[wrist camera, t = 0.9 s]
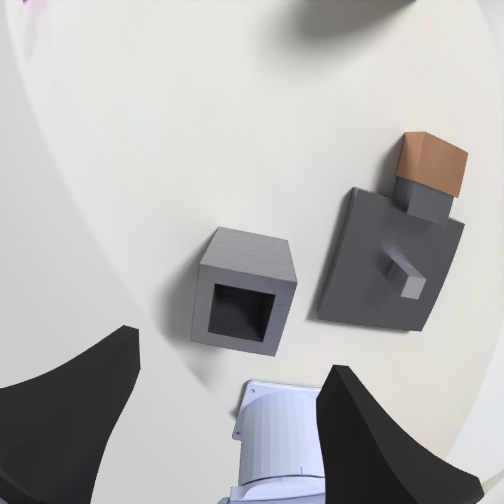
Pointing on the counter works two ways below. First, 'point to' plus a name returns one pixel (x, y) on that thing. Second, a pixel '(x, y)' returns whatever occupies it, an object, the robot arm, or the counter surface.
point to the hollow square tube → (243, 292)
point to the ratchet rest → (398, 241)
